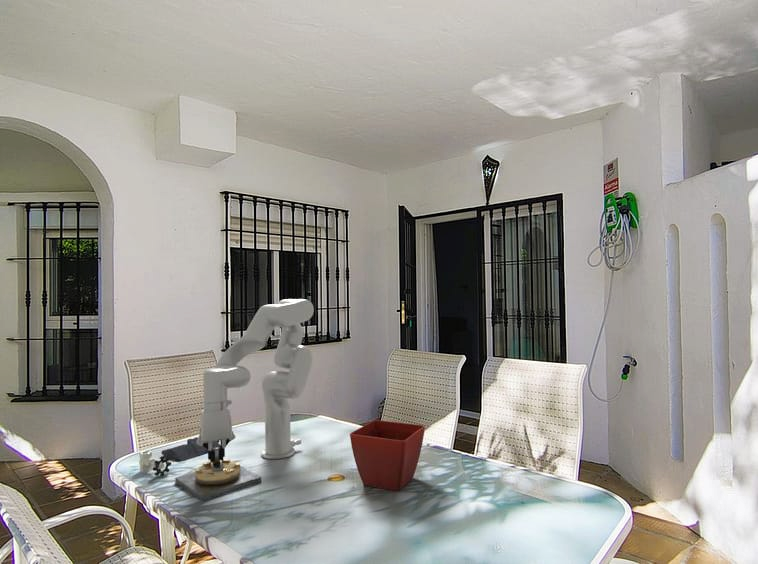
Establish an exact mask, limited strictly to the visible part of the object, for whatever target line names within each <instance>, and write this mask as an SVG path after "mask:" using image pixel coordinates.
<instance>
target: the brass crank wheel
mask: <svg viewBox="0 0 758 564" xmlns="http://www.w3.org/2000/svg"><path fill="white" fill-rule="evenodd" d="M213 451H214V462H213V463H211V461H207V462H204V463H202V465H201V466H199V467H197V468H195V472H194V473H195V480H196V482H197V483H200V484H204V485H216V484H223V483H227V482H230V481H233V480H235V479H237V478H238V477H239V476H240V474H241V470H240V466H241V463H240V462H235V461H231V459H230V458H229V459H227V458H226V459H225V458H223V461H221V460H220V448H219V447H216V448H213Z"/></svg>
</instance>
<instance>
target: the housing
mask: <svg viewBox="0 0 758 564" xmlns="http://www.w3.org/2000/svg"><path fill="white" fill-rule="evenodd" d="M240 470H241V474H240V476H239V477H238V478H237V479H235V480H233V481H230V482H227V483H223V484H216V485H204V484H200V483H197V482H196V480H195V472H192V473H188V474H185V475H181V476H177V477H175V478H174V479H175V480H174V481H175V482H174V483H175V484H176V485H178V486H179V487H181V488H182V489H184V490H185V491H186V492H188V493H189V494H190V495H192V496H193V497H195V498H197V499H198V500H199V501H200V502H203V501H207V500H210V499H212V498H216V497H219V496H222V495H225V494H228V493H229V494H230V493H232V492H234V491H237V490H241V489H244V488H247V487H251V486H253V485H257V484H260V483H262V476H261V475H258V474H257V473H255V472H253V471H251V470H248V469H247V468H244V467H243V466H241V465H240Z"/></svg>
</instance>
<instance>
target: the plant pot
mask: <svg viewBox="0 0 758 564" xmlns="http://www.w3.org/2000/svg"><path fill="white" fill-rule="evenodd" d="M425 428H426V426H425V425H424V424H423V425H422V424H414V423H405V422H396V421H387V420H379V419H373V420H372V421H370V422H368V423H366V424H365V425H363V426H360V427H359V428H358V429H355V430H353V431H352V432H350V433H349V439H350V443H351V449H352V454H353V457H354V462H355V465H356V469H357V471H358V474H359V477H360V480H361V482H362V484H363V486H367V487H373V488H379V489H384V490H387V491H395V492H399V491H401V490H403V489H404V487H405V486H406V485H407V484H408V483H409V482H411V480H413V478H414V476H415V473H416V470H417V467H418V463H419V459H420V455H421V453H422V452H421V451H422V447H423V441H424V437H425Z"/></svg>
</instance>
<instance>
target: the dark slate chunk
mask: <svg viewBox="0 0 758 564" xmlns="http://www.w3.org/2000/svg"><path fill="white" fill-rule="evenodd" d="M198 437H199V436H198ZM198 437H194V438H188V439H187V440H186V443H184V444H181V445H177V446H174V447H171V448H167V449H162V450H161V455H163V456H165V457H169V460H173V461H174V460H175V461H174V462H181V461H182V462H185V461H188V460H191V459H194V458H195V459H196V458H197V457H201V456H204V455H208V450H207V449H206V448H205V447H204V446H200V445H197V444H196V442H197V439H198ZM206 443H207V442H206ZM220 445H221V444H220V440H216V441H212V448H216V447H220Z"/></svg>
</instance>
